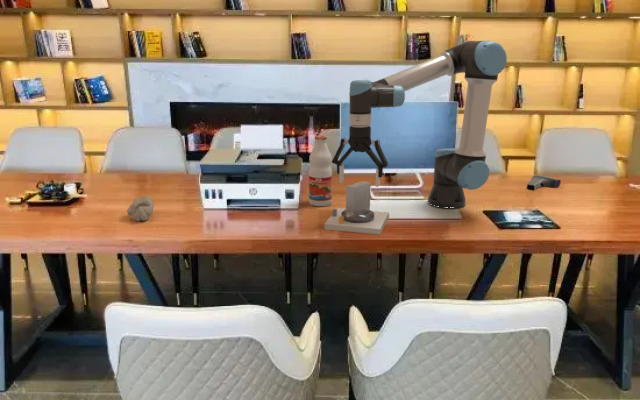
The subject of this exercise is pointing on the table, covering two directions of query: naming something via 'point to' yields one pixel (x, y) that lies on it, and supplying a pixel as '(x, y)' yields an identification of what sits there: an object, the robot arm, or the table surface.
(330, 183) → the fruit juice
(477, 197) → the table surface
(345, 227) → the dial plate
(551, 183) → the infrared thermometer
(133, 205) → the fossil replica
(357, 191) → the dial knob
